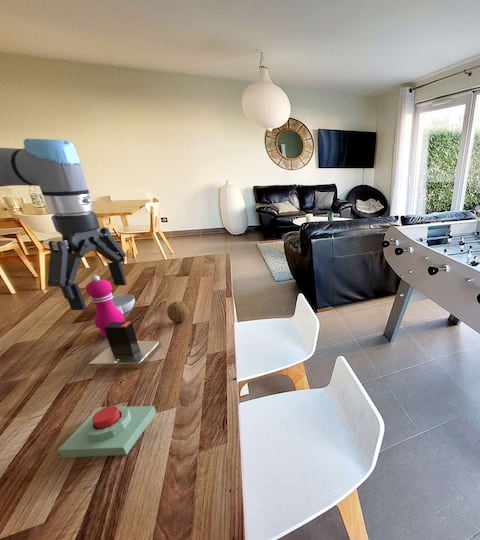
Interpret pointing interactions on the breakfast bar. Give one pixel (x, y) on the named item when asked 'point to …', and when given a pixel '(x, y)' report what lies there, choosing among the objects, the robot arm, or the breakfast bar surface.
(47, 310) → the breakfast bar surface
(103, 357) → the shiny metal plate
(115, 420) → the button
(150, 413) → the block
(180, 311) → the fruit
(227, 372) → the breakfast bar surface
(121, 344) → the black rectangular block
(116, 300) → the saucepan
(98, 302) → the pepper mill
